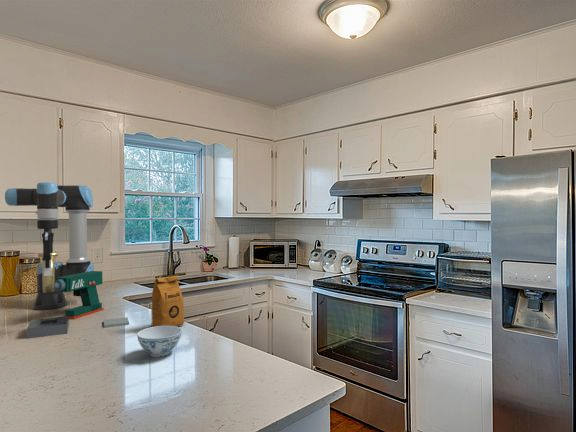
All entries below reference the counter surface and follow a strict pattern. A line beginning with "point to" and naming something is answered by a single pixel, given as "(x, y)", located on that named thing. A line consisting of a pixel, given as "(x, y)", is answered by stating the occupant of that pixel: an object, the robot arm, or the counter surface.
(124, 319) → the pad
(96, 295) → the power tool
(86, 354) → the counter surface
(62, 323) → the chuck block
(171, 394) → the counter surface
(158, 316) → the coffee package
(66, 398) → the counter surface
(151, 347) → the chinaware
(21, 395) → the counter surface
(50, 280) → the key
